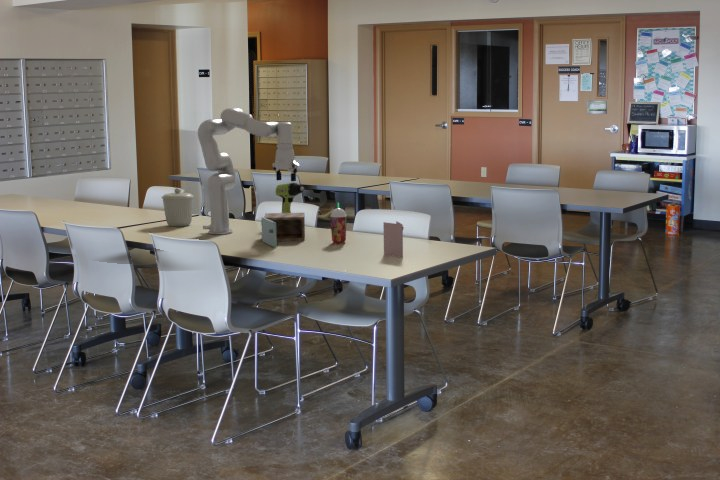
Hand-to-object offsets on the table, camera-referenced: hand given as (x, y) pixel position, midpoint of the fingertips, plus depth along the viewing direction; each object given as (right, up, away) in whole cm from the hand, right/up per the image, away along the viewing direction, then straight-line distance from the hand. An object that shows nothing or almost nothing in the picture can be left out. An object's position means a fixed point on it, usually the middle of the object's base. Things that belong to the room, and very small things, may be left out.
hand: (286, 180), depth 481 cm
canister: (-64, -22, +50) cm, 84 cm away
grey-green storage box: (-8, -32, -17) cm, 37 cm away
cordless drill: (+1, -24, +34) cm, 41 cm away
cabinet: (-1, -29, +1) cm, 29 cm away
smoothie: (+27, -32, -15) cm, 44 cm away
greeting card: (+53, -37, -50) cm, 82 cm away
